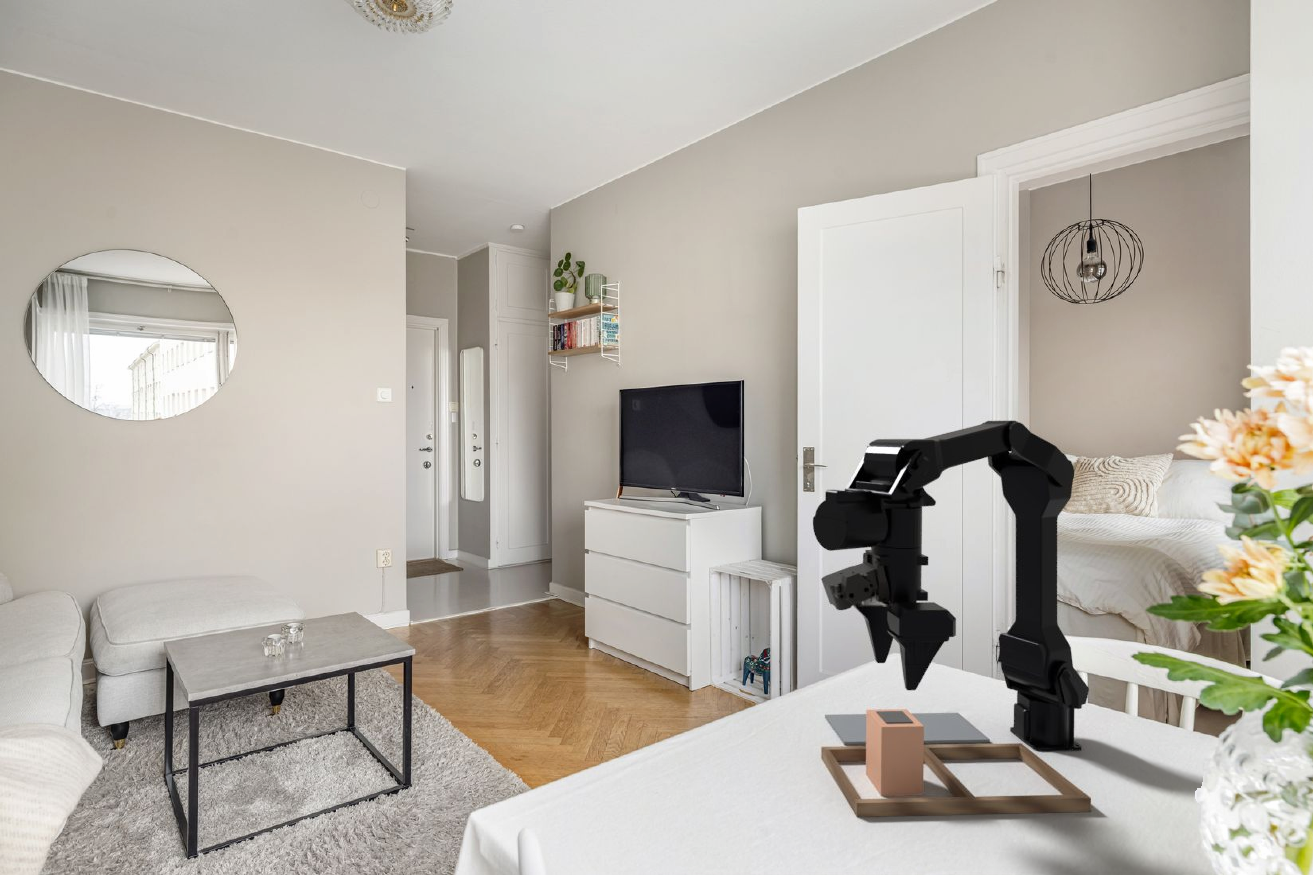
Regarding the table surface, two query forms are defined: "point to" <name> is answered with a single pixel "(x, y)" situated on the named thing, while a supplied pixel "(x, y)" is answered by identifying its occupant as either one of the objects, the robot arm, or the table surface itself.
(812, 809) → the table surface
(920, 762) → the peach block
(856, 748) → the organizer
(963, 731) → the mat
